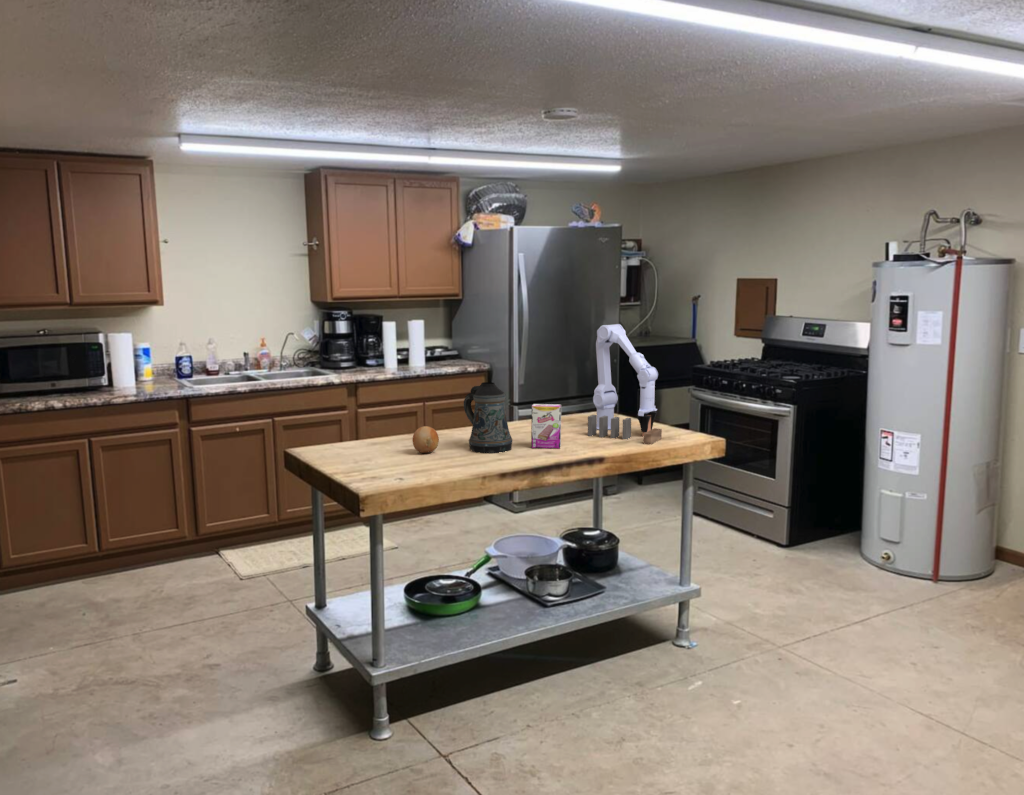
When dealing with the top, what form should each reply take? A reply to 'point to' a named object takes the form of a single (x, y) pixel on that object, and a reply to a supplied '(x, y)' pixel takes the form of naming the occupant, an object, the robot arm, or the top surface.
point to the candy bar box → (546, 426)
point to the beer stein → (488, 419)
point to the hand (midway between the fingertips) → (646, 430)
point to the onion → (425, 439)
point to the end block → (652, 436)
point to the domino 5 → (648, 425)
